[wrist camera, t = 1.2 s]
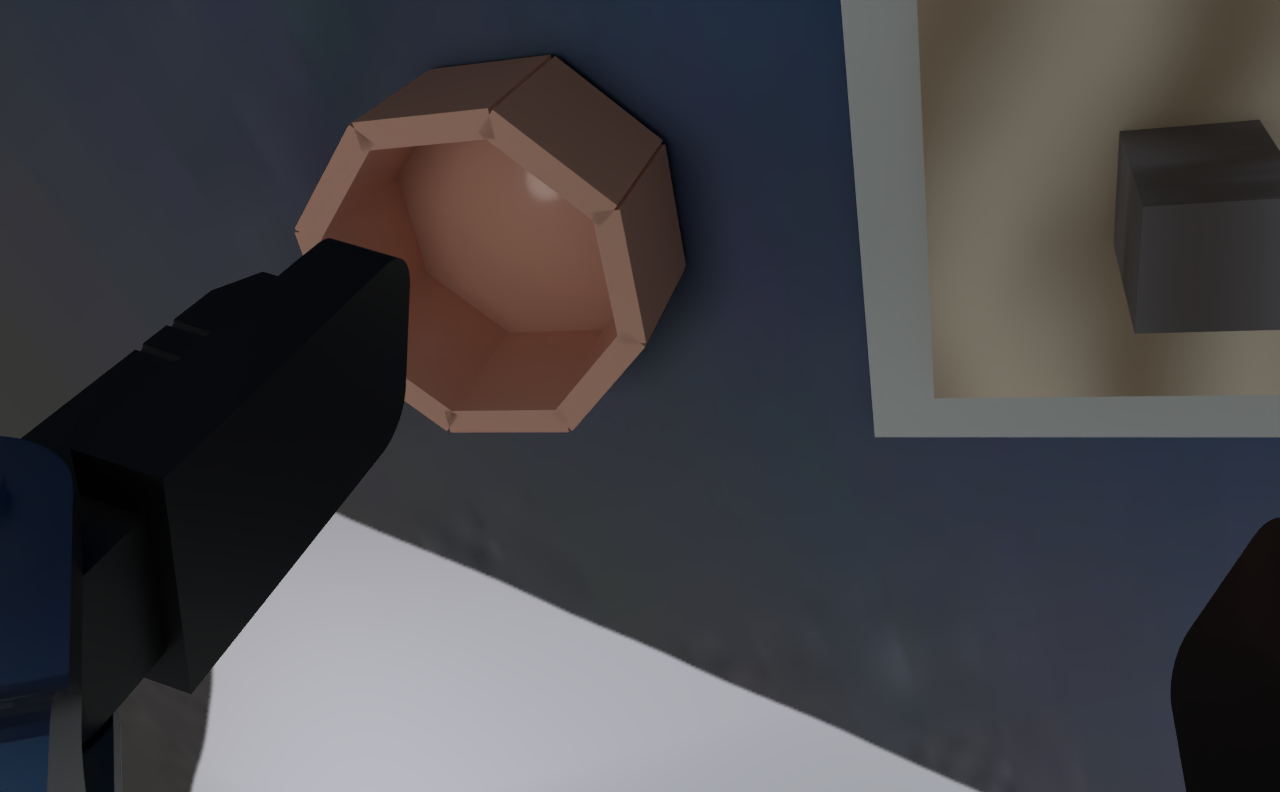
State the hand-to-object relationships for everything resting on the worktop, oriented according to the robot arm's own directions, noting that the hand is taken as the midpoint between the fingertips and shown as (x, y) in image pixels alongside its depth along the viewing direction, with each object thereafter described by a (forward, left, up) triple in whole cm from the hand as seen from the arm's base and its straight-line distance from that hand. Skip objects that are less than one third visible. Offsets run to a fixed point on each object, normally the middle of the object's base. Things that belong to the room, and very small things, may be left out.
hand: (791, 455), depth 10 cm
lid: (-7, +6, -22) cm, 24 cm away
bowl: (+12, +6, -22) cm, 26 cm away
